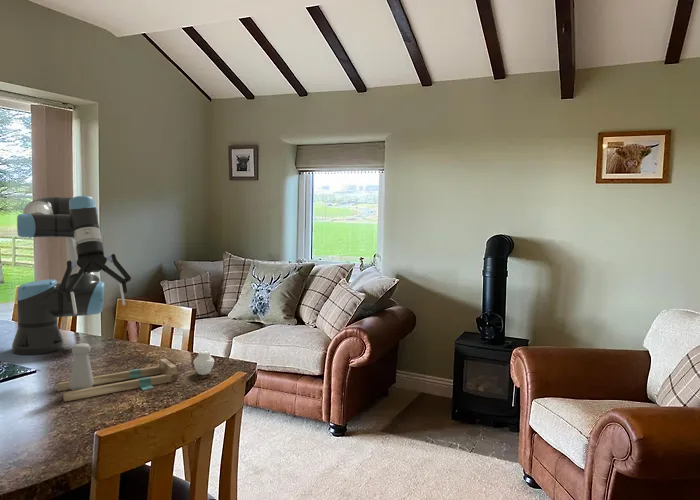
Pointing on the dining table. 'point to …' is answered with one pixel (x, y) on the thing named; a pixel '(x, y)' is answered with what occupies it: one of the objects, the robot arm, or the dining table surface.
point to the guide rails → (144, 383)
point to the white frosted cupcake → (203, 363)
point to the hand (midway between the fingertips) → (100, 309)
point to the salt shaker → (81, 368)
